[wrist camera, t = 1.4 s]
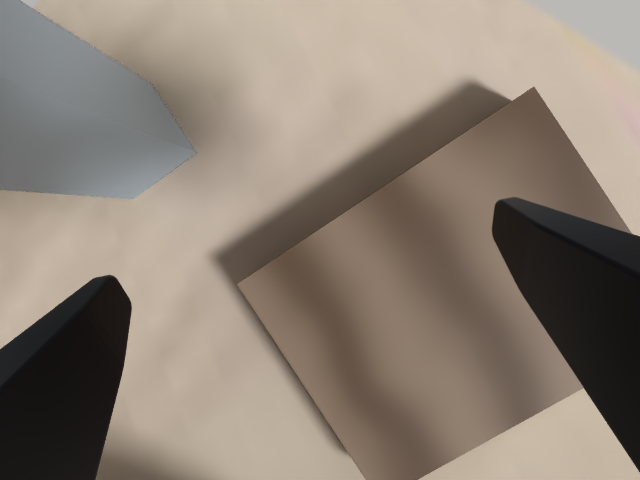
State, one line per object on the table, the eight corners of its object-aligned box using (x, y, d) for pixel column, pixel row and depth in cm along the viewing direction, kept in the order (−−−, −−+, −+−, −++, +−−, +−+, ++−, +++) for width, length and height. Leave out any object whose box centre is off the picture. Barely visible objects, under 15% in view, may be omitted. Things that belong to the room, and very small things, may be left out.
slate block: (133, 199, 24) (-131, 180, 11) (88, 131, 24) (-227, 34, 11) (197, 152, 23) (-3, 75, 10) (151, 83, 23) (-105, -79, 11)
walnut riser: (377, 470, 23) (379, 500, 21) (249, 276, 24) (236, 284, 21) (654, 313, 21) (694, 327, 19) (513, 101, 21) (534, 86, 19)
